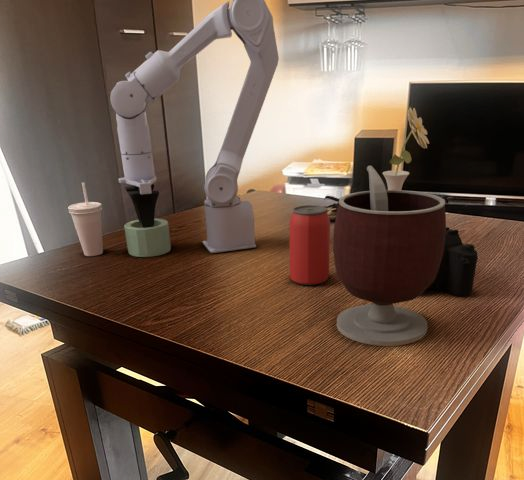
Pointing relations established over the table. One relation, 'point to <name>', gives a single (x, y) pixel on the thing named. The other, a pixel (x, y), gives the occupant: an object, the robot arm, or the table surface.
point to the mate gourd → (387, 259)
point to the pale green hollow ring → (147, 238)
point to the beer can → (309, 245)
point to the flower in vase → (406, 152)
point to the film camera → (456, 266)
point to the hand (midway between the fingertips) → (146, 224)
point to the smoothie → (88, 225)
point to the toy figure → (332, 207)
